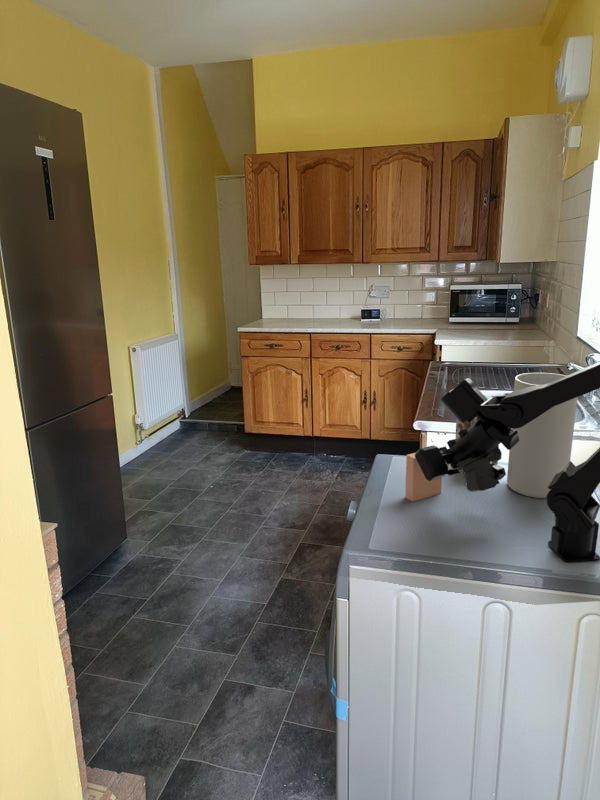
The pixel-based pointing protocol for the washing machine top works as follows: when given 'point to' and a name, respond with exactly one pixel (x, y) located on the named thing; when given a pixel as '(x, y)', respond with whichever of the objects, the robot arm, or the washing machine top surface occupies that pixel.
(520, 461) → the cylinder vase
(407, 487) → the block
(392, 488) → the washing machine top surface
